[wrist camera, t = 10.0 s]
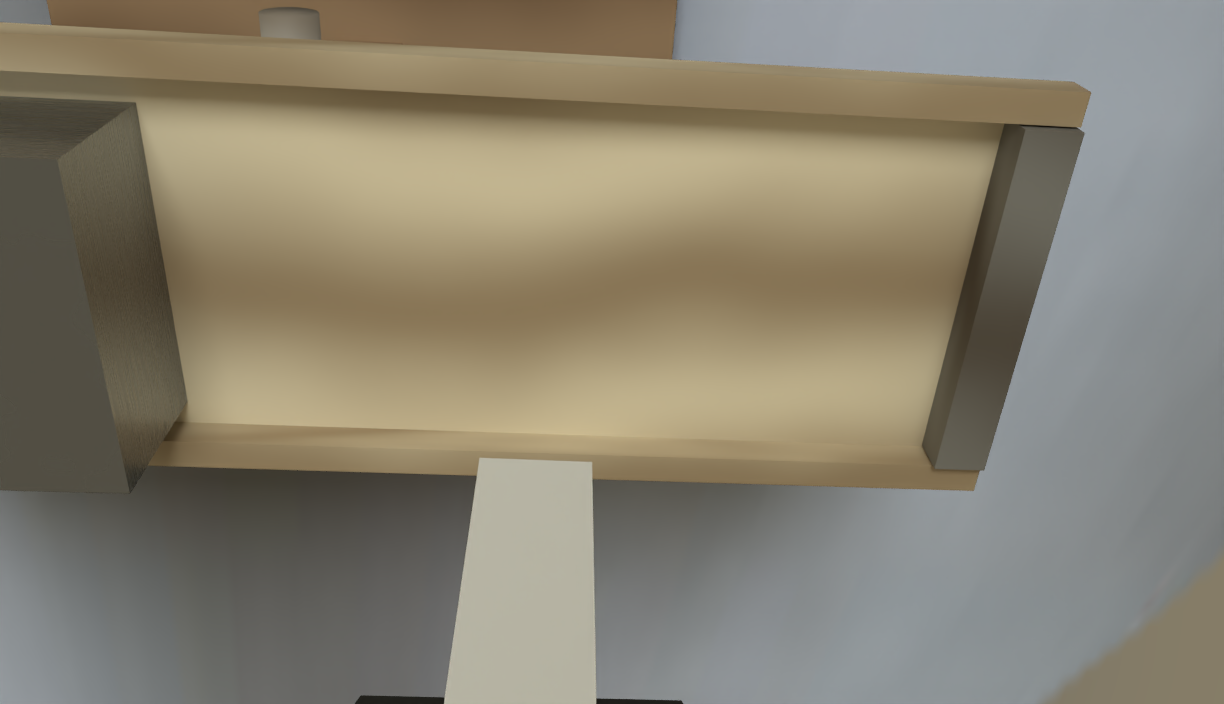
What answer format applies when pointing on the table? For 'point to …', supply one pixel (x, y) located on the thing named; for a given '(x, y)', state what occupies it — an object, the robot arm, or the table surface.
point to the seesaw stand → (412, 22)
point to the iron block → (81, 300)
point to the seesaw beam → (579, 253)
